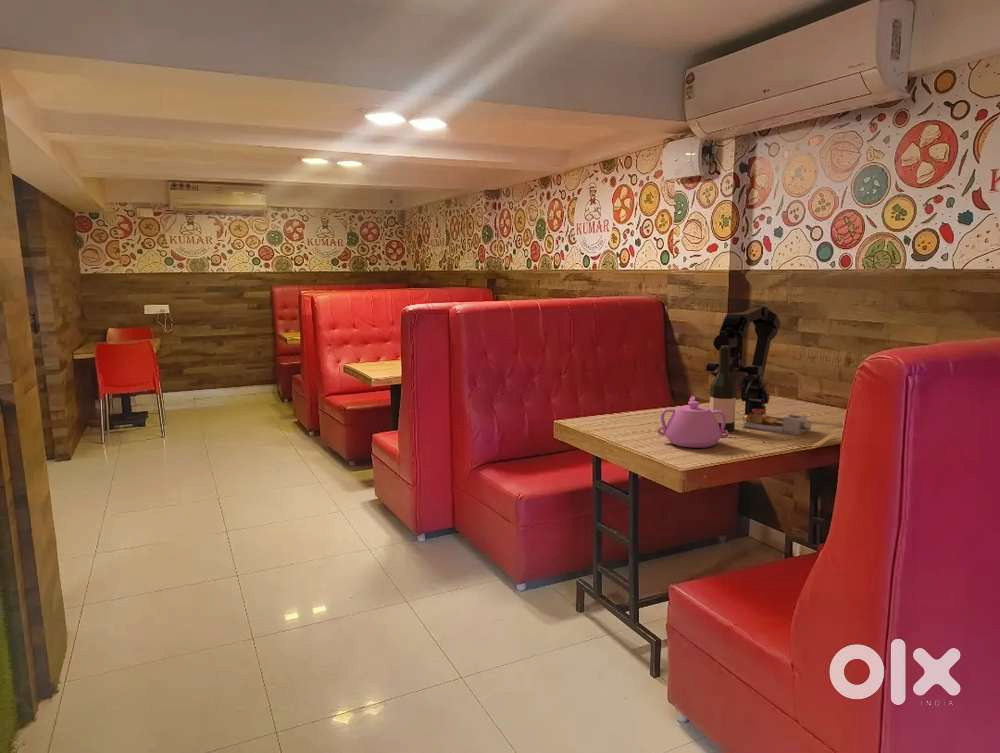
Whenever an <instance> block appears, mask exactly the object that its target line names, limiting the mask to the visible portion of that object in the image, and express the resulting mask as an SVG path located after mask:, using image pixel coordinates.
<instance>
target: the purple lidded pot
mask: <svg viewBox="0 0 1000 753" xmlns="http://www.w3.org/2000/svg"><path fill="white" fill-rule="evenodd" d="M687 403H688V405H680V406H678V407H676V409H673V408H666V409H664V410H663V411H661V414H660V421H661V425H662V426H659V427H658V428H657V435H659V436H665V437H666V439H668V441H669V442H670V443H671V444H672V445H676V446H678V447H680V448H681V447H683V448H700V449H701V448H703V449H706V448H709V447H713V446H715V445H716V444H717V443H718V441H720V439H723V440H724V439H726V438H728V437H729V433H730V432H728V431H727V430H724V427H725V424H726V419H727V418H726V415H725V413H724V412H722V411H720V410H714V411H711V410H710V407H706V406H700V402H699V401H696V397H695V396H694V395H691V396H690V397H689V401H688V402H687ZM666 413H672V414H671V416H670V417H669V419H668V421H667V422H666V420H665V414H666ZM713 414H721V415H722V416H723V422H722V425H721V428H720V427H719V424H718V422H717V420H716V418H715V416H714V415H713ZM661 430H663V432H662V431H661ZM724 433H725V434H724Z"/></svg>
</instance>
